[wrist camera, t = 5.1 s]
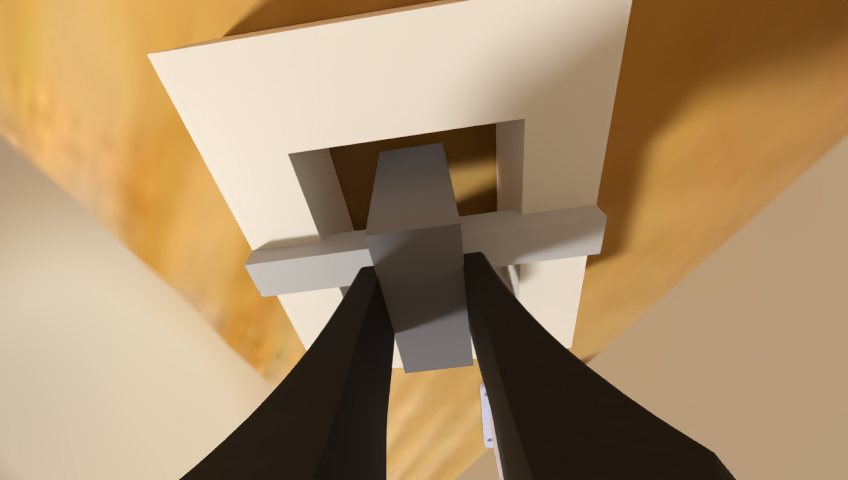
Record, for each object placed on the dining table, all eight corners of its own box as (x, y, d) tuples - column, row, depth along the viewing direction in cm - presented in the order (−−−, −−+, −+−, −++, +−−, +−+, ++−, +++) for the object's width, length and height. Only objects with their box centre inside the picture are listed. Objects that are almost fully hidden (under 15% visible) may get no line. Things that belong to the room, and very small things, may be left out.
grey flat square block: (455, 263, 16) (473, 365, 12) (406, 269, 17) (405, 373, 12) (442, 142, 13) (460, 223, 8) (379, 151, 13) (364, 235, 9)
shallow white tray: (542, 285, 20) (577, 362, 15) (335, 311, 20) (317, 392, 16) (568, -22, 11) (657, -30, 7) (221, 37, 12) (126, 59, 8)
